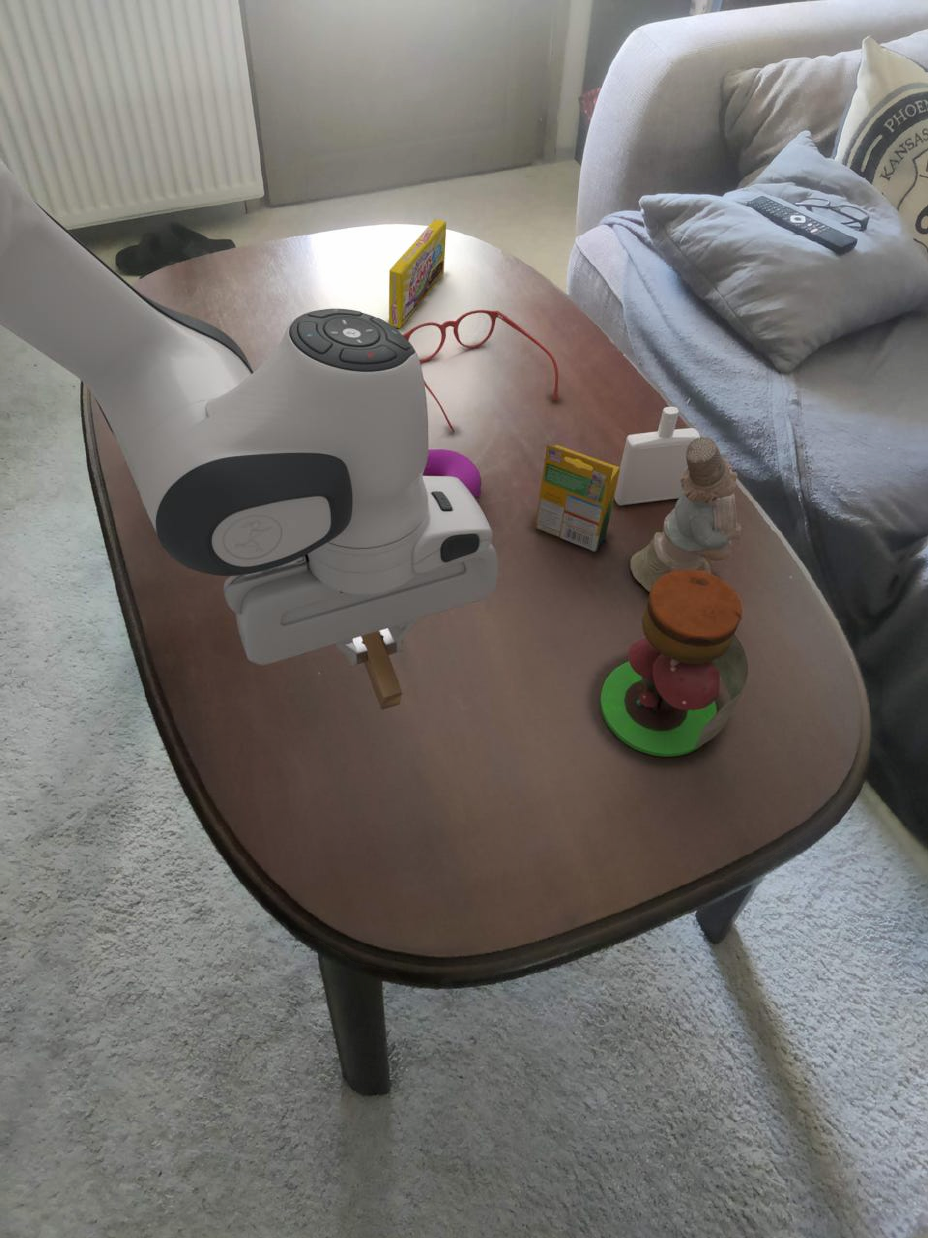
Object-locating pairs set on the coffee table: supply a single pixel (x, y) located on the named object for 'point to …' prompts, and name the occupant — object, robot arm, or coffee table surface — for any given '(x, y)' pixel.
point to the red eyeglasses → (493, 318)
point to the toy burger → (678, 667)
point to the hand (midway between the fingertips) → (374, 653)
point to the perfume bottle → (654, 462)
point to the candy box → (416, 273)
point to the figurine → (694, 519)
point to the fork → (381, 672)
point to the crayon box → (576, 497)
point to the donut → (454, 468)
